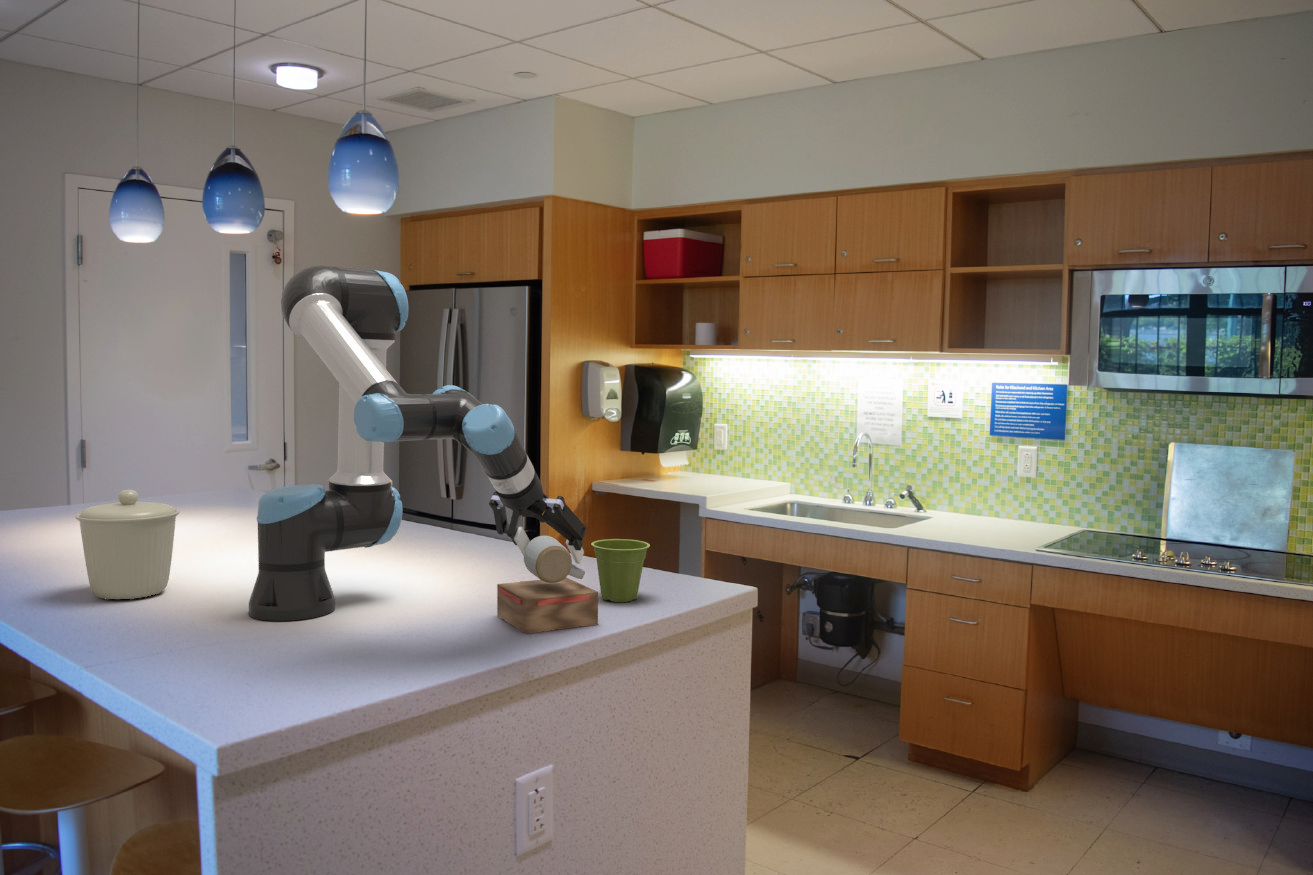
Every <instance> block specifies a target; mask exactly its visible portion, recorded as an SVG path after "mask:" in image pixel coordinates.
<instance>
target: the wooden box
mask: <svg viewBox="0 0 1313 875" xmlns="http://www.w3.org/2000/svg"><path fill="white" fill-rule="evenodd" d="M496 589H497V590H496V591H497V592H496V593H497V594H496V595H497V596H496V597H497V600H496V602H497V606H496V609H497V610H496V617H499V618H500V617H501V618H500V619H501V620H503V619H504V620H503V621H505V620H506V621H507V622H506V621H505V622H506V623H508V622H509V623H508V624H509V625H511V624H512V625H511V626H513V627H514V626H515V627H514V628H515V629H517V628H518V629H517V630H519V629H520V630H519V631H521V632H522V631H523V632H522V633H524V634H525V633H526V634H527V633H529V634H534V633H535V634H536V633H543V632H542V631H544V632H549V631H550V632H551V630H552V631H556V630H555V629H559V630H565V629H564V628H567V629H573V628H574V627H575V628H580V627H579V626H582V627H588V626H590V627H591V626H596V625H597V624H598V625H599V623H598V622H599V591H597V590H595V589H593V588H591V587H589V586H586V585H584V584H582V583H579V582H578V581H575V580H573V579H571V578H568V576H567V577H566V578H565V579H563V580H562V581H560V582H556V583H547V582H544V581H542V580H540V579H535V580H526V581H525V580H524V581H515V582H514V581H513V582H506V583H497V586H496ZM526 634H525V635H526Z"/></svg>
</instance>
